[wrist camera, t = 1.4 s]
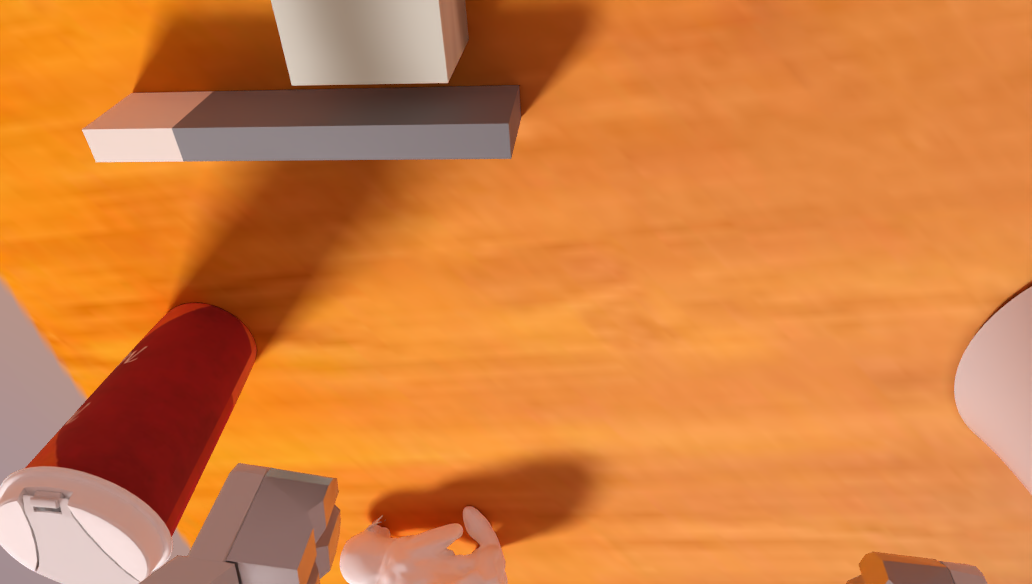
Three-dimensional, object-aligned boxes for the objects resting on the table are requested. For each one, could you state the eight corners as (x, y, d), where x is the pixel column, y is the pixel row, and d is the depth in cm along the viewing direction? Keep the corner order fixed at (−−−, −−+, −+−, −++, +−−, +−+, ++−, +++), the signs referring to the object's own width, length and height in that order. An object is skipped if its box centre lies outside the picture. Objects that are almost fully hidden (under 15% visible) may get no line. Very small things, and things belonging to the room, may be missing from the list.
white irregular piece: (501, 684, 46) (323, 654, 49) (526, 563, 53) (369, 542, 55) (490, 629, 42) (298, 600, 45) (519, 507, 49) (351, 487, 52)
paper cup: (126, 282, 41) (-55, 484, 30) (259, 290, 41) (125, 500, 29) (167, 384, 46) (23, 592, 35) (287, 393, 45) (180, 608, 34)
